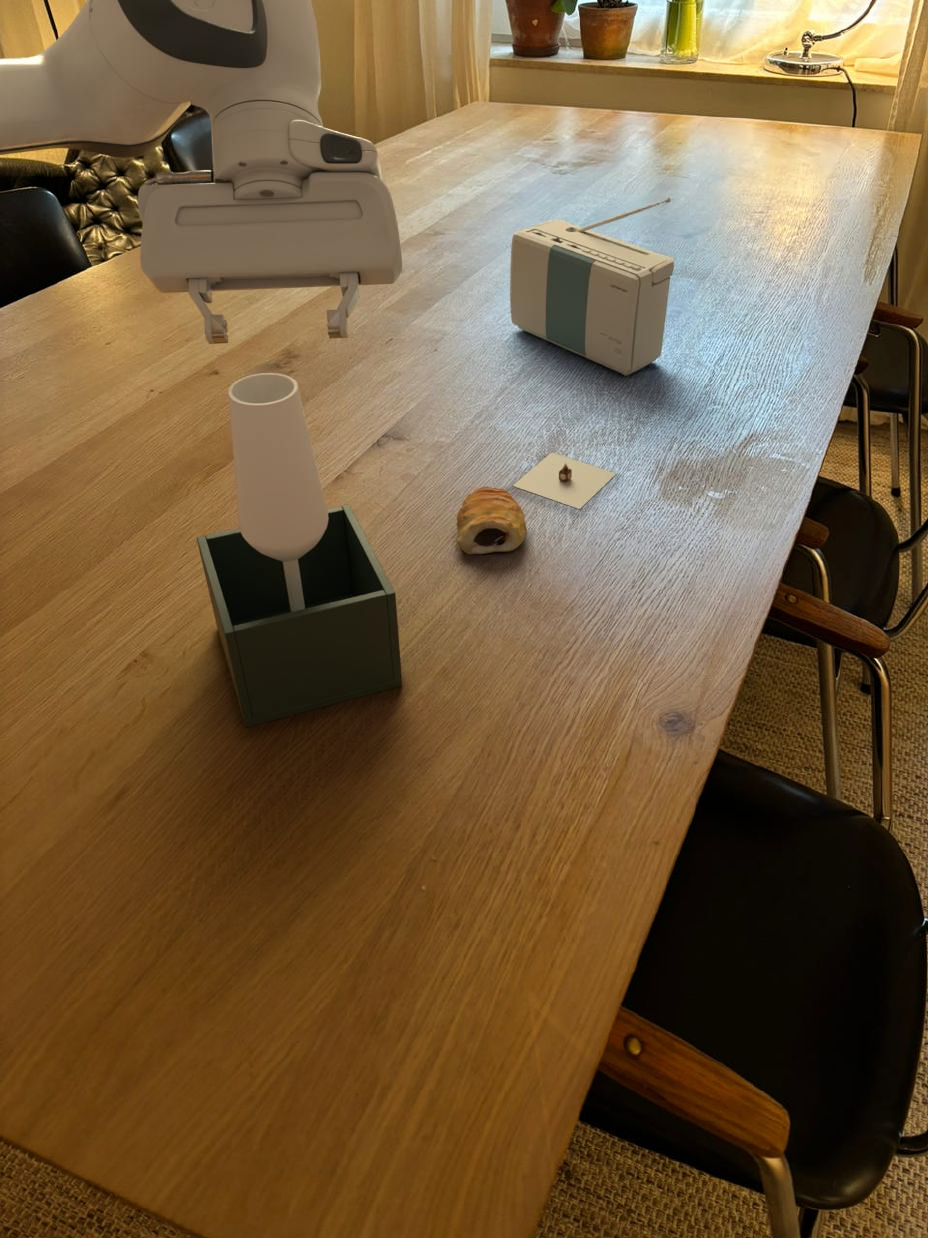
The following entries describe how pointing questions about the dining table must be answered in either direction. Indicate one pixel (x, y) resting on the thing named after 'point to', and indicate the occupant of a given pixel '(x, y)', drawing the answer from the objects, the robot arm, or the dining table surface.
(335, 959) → the dining table surface
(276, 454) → the champagne flute
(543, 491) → the beige flat slab
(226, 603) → the bin
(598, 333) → the radio
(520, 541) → the pastry
